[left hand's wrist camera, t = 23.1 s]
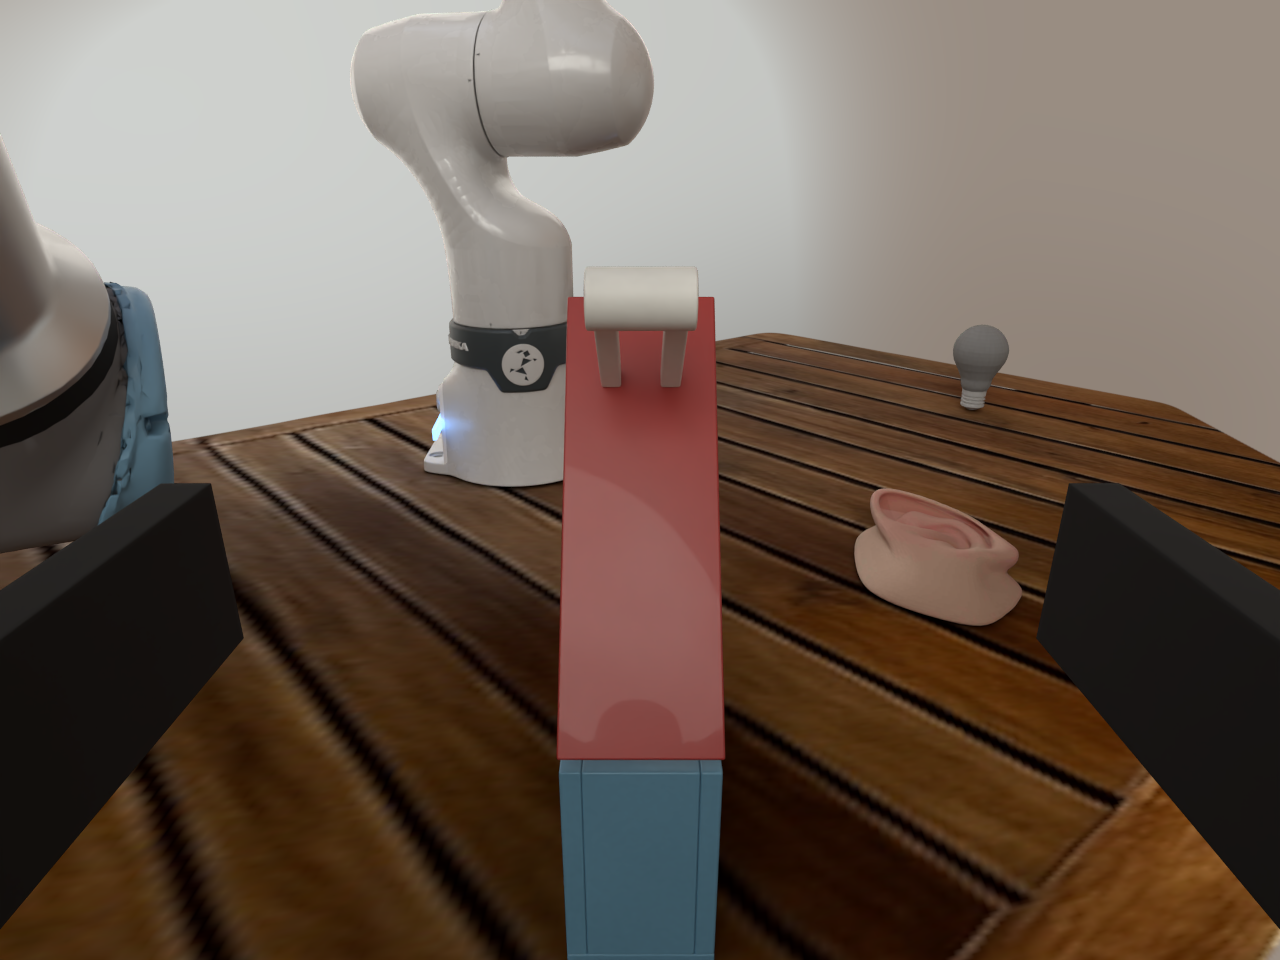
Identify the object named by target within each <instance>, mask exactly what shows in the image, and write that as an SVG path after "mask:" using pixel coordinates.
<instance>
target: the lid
mask: <svg viewBox="0 0 1280 960" xmlns="http://www.w3.org/2000/svg"><path fill="white" fill-rule="evenodd" d="M724 759H725V723H724V681H723V640H722V598H721V556H720V515H719V473H718V431H717V390H716V348H715V308H714V297H698V271H697V268H696V267H586V268H585V272H584V297H568V299H567V339H566V381H565V423H564V465H563V507H562V549H561V591H560V632H559V674H558V716H557V760H724Z"/></svg>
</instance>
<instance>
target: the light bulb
mask: <svg viewBox="0 0 1280 960" xmlns="http://www.w3.org/2000/svg"><path fill="white" fill-rule="evenodd" d="M1008 354H1009V346H1008V342H1007V340H1006V338H1005V336H1004V335H1003V333H1002V332H1001V331H999V330H998V329H997V328H995V327H992V326H988V325H977V326H973V327H970V328H969V329H967V330H966V331H964V332H963V333H962V334H961V335H960V336H959V337H958V339H957V340H956V342H955V344H954V348H953V356H954V361H955V363H956V366H957V368H958V370H959V373H960V375H961V386H962V398H961V400H962V401H961V403H960V404H961V405H962V406H964V407H965V408H966V409H969V410H977V409H979V408H982V407H984V404H983V403H985V402H984V401H983V400H985V398H984V397H985V396H986V392H987V390H988V388H989V387H990V385H991V381H992V379H993V377H994V376H995V375H996V373H997V372H998V371H999V370H1000V369H1001V367H1002V366H1003V365H1004V363H1005V362H1006V360H1007V357H1008Z"/></svg>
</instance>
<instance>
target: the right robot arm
mask: <svg viewBox="0 0 1280 960" xmlns="http://www.w3.org/2000/svg"><path fill="white" fill-rule="evenodd" d="M350 84H351V91H352V96H353V100H354V103H355V106H356V109H357V111H358V113H359V116H360V118H361V120H362V121H363V123H364V125H365V126H366V127H367V129H368V130H369V132H370V133H371V134H372V135H373V136H374V138H375V139H376V140H377V141H378V142H380V143H381V144H382V145H384V146H385V147H386V148H387V149H389V150H390V151H391V152H392V153H394V154H395V155H396V156H397V157H398V158H399V159H400V160H401V161H402V162H403V163H404V164H405V166H406V167H407V168H408V169H409V170H410V172H411V173H412V174H413V176H414V177H415V178H416V180H417V181H418V183H419V184H420V186H421V187H422V189H423V191H424V192H425V194H426V196H427V198H428V200H429V202H430V204H431V206H432V208H433V210H434V213H435V215H436V218H437V220H438V223H439V226H440V229H441V233H442V237H443V242H444V247H445V253H446V259H447V266H448V273H449V280H450V289H451V298H452V309H453V319H452V320H451V321H450V323H449V330H450V334H449V344H450V347H451V358H452V359H453V360H454V361H455V363H454V366H453V368H452V370H451V372H450V373H449V374H448V376H447V377H445V378H444V380H443V383H442V384H440V385H439V390H437V394H436V397H437V408H438V411H440V415H439V417H438V419H437V421H436V423H435V425H434V427H433V429H432V434H433V440H435V442H434V443H433V445H432V447H431V449H430V450H429V452H428V454H427V455H426V457H425V459H424V470H425V471H427V472H431V473H438V474H446V475H451V476H455V477H457V478H460V479H462V480H465V481H468V482H472V483H477V484H483V485H491V486H532V485H540V484H547V483H552V482H557V481H561V480H563V465H564V423H565V381H566V339H567V299H568V297H573V274H572V244H571V240H570V237H569V235H568V232H567V230H566V228H565V227H564V225H563V224H562V223H561V221H560V220H559V219H558V218H557V217H556V216H555V215H554V214H552V213H551V212H550V211H548V210H547V209H545V208H543V207H542V206H540V205H538V204H536V203H534V202H532V201H531V200H529V199H527V198H525V197H523V196H522V195H521V194H520V192H519V191H518V190H517V188H516V187H515V185H514V183H513V181H512V179H511V177H510V174H509V170H508V166H507V157H509V156H582V155H587V154H591V153H596V152H601V151H606V150H610V149H613V148H618V147H621V146H625V145H628V144H629V143H630V142H631V141H632V140H633V139H634V138H635V137H636V135H637V134H638V133H639V131H640V130H641V128H642V126H643V125H644V123H645V121H646V119H647V116H648V114H649V111H650V107H651V104H652V98H653V91H654V75H653V68H652V63H651V59H650V56H649V53H648V50H647V48H646V45H645V43H644V41H643V39H642V38H641V36H640V34H639V33H638V32H637V30H636V29H635V28H634V26H633V25H632V24H631V23H630V22H629V21H628V20H627V19H626V18H625V17H624V16H622V15H621V14H620V13H618V12H617V11H616V10H615V9H614V8H612V7H611V6H610V5H609V4H608V3H607V1H606V0H502V2H501V5H500V7H499V8H498V9H494V10H490V11H484V12H458V13H433V14H416V15H413V16H409V17H405V18H402V19H398V20H395V21H391V22H388V23H385V24H382V25H379V26H376V27H373V28H371V29H369V30H367V31H366V32H365V33H364V34H363V35H362V36H361V38H360V40H359V42H358V44H357V46H356V48H355V51H354V55H353V58H352V62H351V71H350Z"/></svg>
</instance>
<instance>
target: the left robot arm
mask: <svg viewBox="0 0 1280 960" xmlns="http://www.w3.org/2000/svg"><path fill="white" fill-rule="evenodd" d="M167 418H168V409H167V392H166V384H165V376H164V369H163V361H162V354H161V348H160V341H159V335H158V329H157V324H156V319H155V314H154V310H153V306H152V303H151V301H150V299H149V297H148V295H147V294H146V293H145V292H143V291H141V290H140V289H138V288H135V287H126V286H120V285H119V284H117V283H112V282H110V283H103V281H102V279H101V277H100V275H99V273H98V272H97V270H96V268H95V266H94V265H93V263H92V262H91V261H90V260H89V259H88V257H87V256H86V255H85V254H84V253H83V252H82V251H81V250H80V249H79V248H77V247H76V246H75V245H73V244H72V243H71V242H70V241H68V240H67V239H65V238H64V237H62V236H61V235H59V234H57V233H56V232H54V231H53V230H51V229H49V228H46V227H44V226H42V225H40V224H38V223H36V222H35V221H34V218H33V216H32V213H31V211H30V208H29V206H28V203H27V201H26V198H25V195H24V193H23V190H22V188H21V185H20V183H19V180H18V178H17V175H16V172H15V170H14V167H13V165H12V162H11V160H10V157H9V154H8V152H7V149H6V147H5V144H4V142H3V139H2V137H1V134H0V553H5V552H11V551H17V550H22V549H28V548H34V547H41V546H47V545H53V544H59V543H65V542H71V541H74V542H72V543H71V544H69V545H68V546H66V547H65V548H63V549H62V550H60V551H59V552H57V553H56V554H54V555H53V556H51V557H50V558H48V559H47V560H45V561H44V562H42V563H41V564H39V565H38V566H36V567H35V568H33V569H32V570H30V571H29V572H27V573H26V574H24V575H23V576H21V577H20V578H18V579H17V580H15V581H14V582H12V583H11V584H9V585H8V586H6V587H5V588H3V589H2V590H0V929H1V928H2V926H3V925H4V924H5V923H6V922H7V920H8V919H9V918H10V917H11V916H12V914H13V913H14V912H15V911H16V910H17V909H18V907H19V906H20V905H21V904H22V903H23V901H24V900H25V899H26V898H27V897H28V895H29V894H30V893H31V892H32V891H33V889H34V888H35V887H36V886H37V885H38V883H39V882H40V881H41V880H42V879H43V877H44V876H45V875H46V874H47V873H48V871H49V870H50V869H51V868H52V867H53V865H54V864H55V863H56V862H57V861H58V859H59V858H60V857H61V856H62V855H63V853H64V852H65V851H66V850H67V849H68V848H69V846H70V845H71V844H72V843H73V842H74V840H75V839H76V838H77V837H78V836H79V834H80V833H81V832H82V831H83V830H84V828H85V827H86V826H87V825H88V824H89V822H90V821H91V820H92V819H93V818H94V816H95V815H96V814H97V813H98V812H99V810H100V809H101V808H102V807H103V806H104V804H105V803H106V802H107V801H108V800H109V798H110V797H111V796H112V795H113V794H114V793H115V791H116V790H117V789H118V788H119V787H120V785H121V784H122V783H123V782H124V781H125V779H126V778H127V777H128V776H129V775H130V773H131V772H132V771H133V770H134V769H135V767H136V766H137V765H138V764H139V763H140V761H141V760H142V759H143V758H144V757H145V755H146V754H147V753H148V752H149V751H150V749H151V748H152V747H153V746H154V745H155V743H156V742H157V741H158V740H159V739H160V737H161V736H162V735H163V734H164V733H165V732H166V730H167V729H168V728H169V727H170V726H171V724H172V723H173V722H174V721H175V720H176V718H177V717H178V716H179V715H180V714H181V712H182V711H183V710H184V709H185V708H186V706H187V705H188V704H189V703H190V702H191V700H192V699H193V698H194V697H195V696H196V694H197V693H198V692H199V691H200V690H201V688H202V687H203V686H204V685H205V684H206V682H207V681H208V680H209V679H210V678H211V677H212V675H213V674H214V673H215V672H216V671H217V669H218V668H219V667H220V666H221V665H222V663H223V662H224V661H225V660H226V659H227V657H228V656H229V655H230V654H231V653H232V651H233V650H234V649H235V648H236V647H237V645H238V644H239V643H240V642H241V641H242V639H243V638H244V637H243V633H242V628H241V623H240V619H239V614H238V609H237V604H236V600H235V595H234V590H233V585H232V581H231V576H230V571H229V567H228V562H227V557H226V552H225V548H224V543H223V538H222V533H221V529H220V524H219V519H218V515H217V510H216V505H215V500H214V496H213V491H212V486H211V483H174V467H173V452H172V442H171V433H170V427H169V423H168V421H167ZM1036 638H1037V639H1038V641H1039V642H1040V643H1041V644H1042V645H1043V647H1044V648H1045V649H1046V650H1047V651H1048V653H1049V654H1050V655H1051V656H1052V657H1053V659H1054V660H1055V661H1056V662H1057V663H1058V665H1059V666H1060V667H1061V668H1062V669H1063V671H1064V672H1065V673H1066V674H1067V675H1068V677H1069V678H1070V679H1071V680H1072V681H1073V682H1074V684H1075V685H1076V686H1077V687H1078V688H1079V690H1080V691H1081V692H1082V693H1083V694H1084V696H1085V697H1086V698H1087V699H1088V700H1089V702H1090V703H1091V704H1092V705H1093V706H1094V708H1095V709H1096V710H1097V711H1098V712H1099V714H1100V715H1101V716H1102V717H1103V718H1104V720H1105V721H1106V722H1107V723H1108V724H1109V726H1110V727H1111V728H1112V729H1113V730H1114V732H1115V733H1116V734H1117V735H1118V736H1119V737H1120V739H1121V740H1122V741H1123V742H1124V743H1125V745H1126V746H1127V747H1128V748H1129V749H1130V751H1131V752H1132V753H1133V754H1134V755H1135V757H1136V758H1137V759H1138V760H1139V761H1140V763H1141V764H1142V765H1143V766H1144V767H1145V769H1146V770H1147V771H1148V772H1149V773H1150V775H1151V776H1152V777H1153V778H1154V779H1155V781H1156V782H1157V783H1158V784H1159V785H1160V787H1161V788H1162V789H1163V790H1164V791H1165V793H1166V794H1167V795H1168V796H1169V797H1170V798H1171V800H1172V801H1173V802H1174V803H1175V804H1176V806H1177V807H1178V808H1179V809H1180V810H1181V812H1182V813H1183V814H1184V815H1185V816H1186V818H1187V819H1188V820H1189V821H1190V822H1191V824H1192V825H1193V826H1194V827H1195V828H1196V830H1197V831H1198V832H1199V833H1200V834H1201V836H1202V837H1203V838H1204V839H1205V840H1206V842H1207V843H1208V844H1209V845H1210V846H1211V848H1212V849H1213V850H1214V851H1215V852H1216V853H1217V855H1218V856H1219V857H1220V858H1221V859H1222V861H1223V862H1224V863H1225V864H1226V865H1227V867H1228V868H1229V869H1230V870H1231V871H1232V873H1233V874H1234V875H1235V876H1236V877H1237V879H1238V880H1239V881H1240V882H1241V883H1242V885H1243V886H1244V887H1245V888H1246V889H1247V891H1248V892H1249V893H1250V894H1251V895H1252V897H1253V898H1254V899H1255V900H1256V901H1257V903H1258V904H1259V905H1260V906H1261V907H1262V909H1263V910H1264V911H1265V912H1266V913H1267V914H1268V916H1269V917H1270V918H1271V919H1272V920H1273V922H1274V923H1275V924H1276V925H1277V926H1278V928H1279V929H1280V590H1278V589H1277V588H1275V587H1274V586H1272V585H1271V584H1269V583H1268V582H1266V581H1265V580H1263V579H1262V578H1260V577H1259V576H1257V575H1256V574H1254V573H1253V572H1251V571H1250V570H1248V569H1247V568H1245V567H1244V566H1242V565H1241V564H1239V563H1238V562H1236V561H1235V560H1233V559H1232V558H1230V557H1229V556H1227V555H1226V554H1224V553H1223V552H1221V551H1220V550H1218V549H1217V548H1215V547H1214V546H1212V545H1211V544H1209V543H1208V542H1206V541H1205V540H1203V539H1202V538H1200V537H1199V536H1197V535H1196V534H1194V533H1193V532H1191V531H1190V530H1188V529H1187V528H1185V527H1184V526H1182V525H1181V524H1179V523H1178V522H1176V521H1175V520H1173V519H1172V518H1170V517H1169V516H1167V515H1166V514H1164V513H1163V512H1161V511H1160V510H1158V509H1157V508H1155V507H1154V506H1152V505H1151V504H1149V503H1148V502H1146V501H1145V500H1143V499H1142V498H1140V497H1139V496H1137V495H1136V494H1134V493H1133V492H1131V491H1130V490H1128V489H1127V488H1125V487H1124V486H1122V485H1121V484H1119V483H1069V486H1068V491H1067V496H1066V500H1065V505H1064V510H1063V515H1062V519H1061V524H1060V529H1059V533H1058V538H1057V543H1056V548H1055V552H1054V557H1053V562H1052V567H1051V571H1050V576H1049V581H1048V585H1047V590H1046V595H1045V600H1044V604H1043V609H1042V614H1041V619H1040V623H1039V628H1038V633H1037V637H1036Z"/></svg>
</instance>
